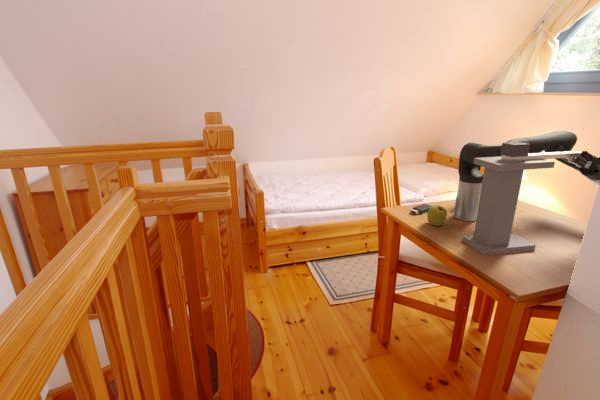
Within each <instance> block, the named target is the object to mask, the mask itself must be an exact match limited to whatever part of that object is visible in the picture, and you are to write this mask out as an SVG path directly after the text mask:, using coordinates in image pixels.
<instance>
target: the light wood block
mask: <svg viewBox="0 0 600 400" xmlns="http://www.w3.org/2000/svg"><path fill="white" fill-rule="evenodd" d="M501 145H502V148H501V155H502V158H501V159H502V160H506V161H522V160H539V159H545V160H553V159H554V160H556V158H573V157H575V158H576V157H580V154H581V153H582V151H576V150H571V151H563V152H545V151H544V152H540V153H529V148H530V144H527V143H521V142H508V143H506V142H502V143H501Z"/></svg>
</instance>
